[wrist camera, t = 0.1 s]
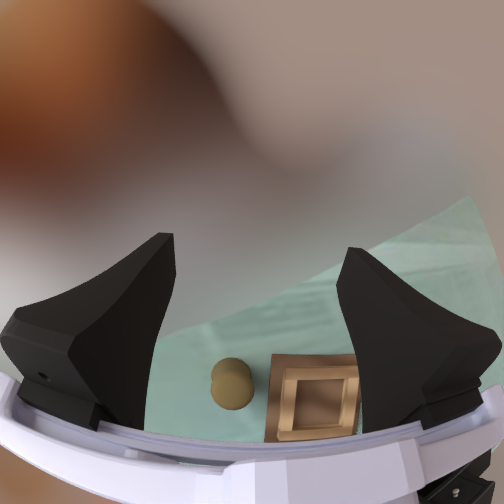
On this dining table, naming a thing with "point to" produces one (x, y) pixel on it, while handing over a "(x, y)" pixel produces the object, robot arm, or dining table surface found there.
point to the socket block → (312, 398)
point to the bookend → (461, 485)
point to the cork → (232, 384)
